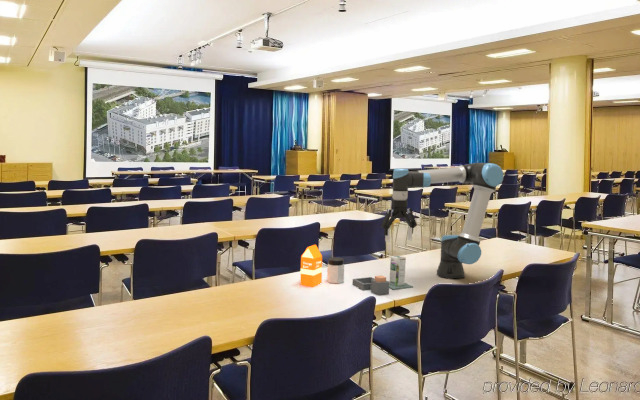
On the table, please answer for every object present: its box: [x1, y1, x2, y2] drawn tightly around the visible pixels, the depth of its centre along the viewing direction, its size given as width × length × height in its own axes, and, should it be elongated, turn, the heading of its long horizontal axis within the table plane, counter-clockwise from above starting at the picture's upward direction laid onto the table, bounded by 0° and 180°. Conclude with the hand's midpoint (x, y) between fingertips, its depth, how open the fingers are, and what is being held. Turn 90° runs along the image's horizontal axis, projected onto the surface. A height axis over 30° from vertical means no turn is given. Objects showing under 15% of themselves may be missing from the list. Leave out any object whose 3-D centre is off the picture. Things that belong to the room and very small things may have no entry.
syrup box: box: [389, 254, 407, 286], centre depth 247 cm, size 6×6×14 cm
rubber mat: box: [389, 282, 414, 291], centre depth 248 cm, size 12×12×1 cm
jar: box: [326, 256, 345, 284], centre depth 252 cm, size 9×8×12 cm
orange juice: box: [300, 244, 323, 288], centre depth 246 cm, size 8×9×20 cm
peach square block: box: [374, 275, 387, 282], centre depth 234 cm, size 4×4×4 cm
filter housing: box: [352, 276, 390, 296], centre depth 240 cm, size 11×21×6 cm, turn 25°
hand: (398, 240), depth 246 cm, fingers open, 13 cm apart
